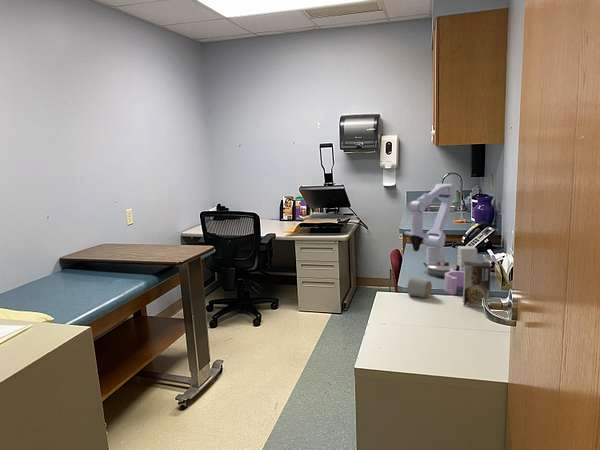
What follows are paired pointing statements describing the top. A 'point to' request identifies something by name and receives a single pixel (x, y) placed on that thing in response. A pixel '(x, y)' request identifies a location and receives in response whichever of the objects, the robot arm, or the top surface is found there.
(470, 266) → the coffee box
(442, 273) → the cooker pot
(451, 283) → the pink rounded block
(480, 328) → the top surface
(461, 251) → the supplement box
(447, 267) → the cooker lid
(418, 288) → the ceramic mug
